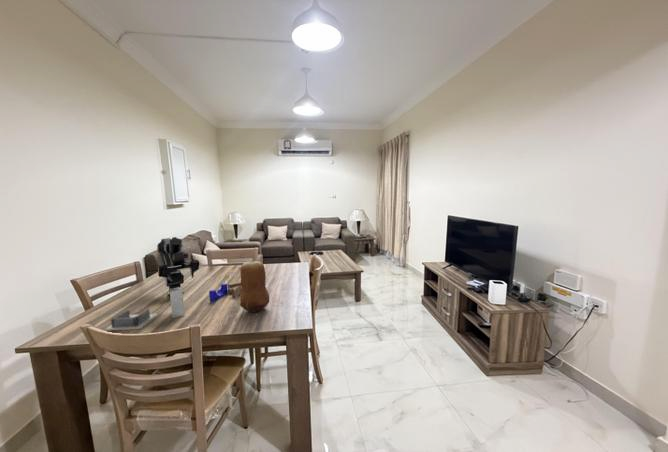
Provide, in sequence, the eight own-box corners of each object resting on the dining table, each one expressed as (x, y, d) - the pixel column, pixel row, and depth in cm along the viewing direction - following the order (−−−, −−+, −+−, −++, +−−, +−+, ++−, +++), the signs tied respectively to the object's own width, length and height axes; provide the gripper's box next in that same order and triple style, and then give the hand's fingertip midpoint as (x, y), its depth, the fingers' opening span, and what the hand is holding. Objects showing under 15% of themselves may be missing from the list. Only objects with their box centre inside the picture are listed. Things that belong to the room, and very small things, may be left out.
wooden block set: (225, 281, 161) (255, 276, 170) (226, 290, 161) (255, 284, 171) (232, 289, 147) (263, 283, 156) (232, 299, 147) (264, 292, 157)
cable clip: (220, 293, 156) (220, 283, 155) (227, 293, 155) (227, 283, 154) (207, 301, 144) (206, 290, 144) (214, 301, 143) (213, 291, 143)
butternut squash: (261, 302, 140) (258, 256, 138) (274, 310, 131) (272, 261, 128) (236, 310, 131) (232, 262, 128) (248, 319, 121) (245, 266, 118)
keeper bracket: (128, 316, 127) (127, 307, 126) (157, 315, 127) (157, 306, 127) (106, 330, 114) (105, 320, 113) (139, 328, 115) (138, 319, 114)
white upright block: (172, 314, 128) (169, 288, 127) (183, 311, 131) (181, 286, 130) (172, 318, 124) (169, 291, 123) (184, 315, 127) (182, 289, 125)
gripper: (155, 250, 133) (161, 271, 124) (196, 245, 145) (204, 264, 136) (155, 266, 139) (161, 287, 130) (194, 260, 151) (202, 279, 142)
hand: (183, 279), depth 134 cm, fingers open, 9 cm apart
